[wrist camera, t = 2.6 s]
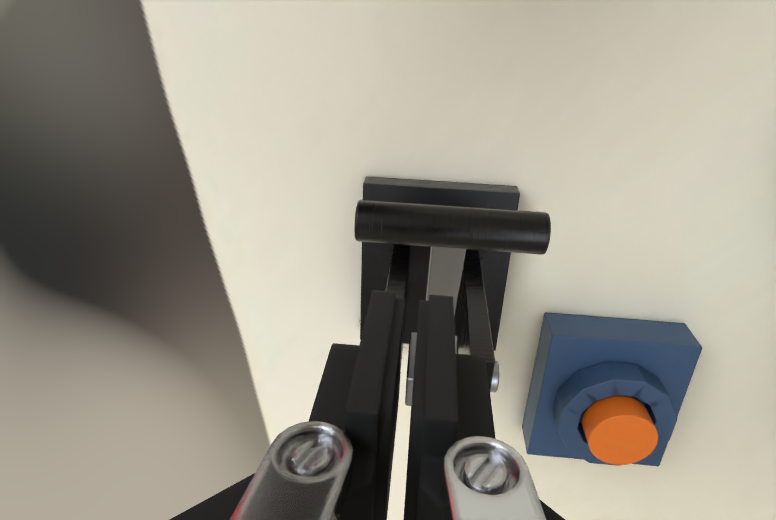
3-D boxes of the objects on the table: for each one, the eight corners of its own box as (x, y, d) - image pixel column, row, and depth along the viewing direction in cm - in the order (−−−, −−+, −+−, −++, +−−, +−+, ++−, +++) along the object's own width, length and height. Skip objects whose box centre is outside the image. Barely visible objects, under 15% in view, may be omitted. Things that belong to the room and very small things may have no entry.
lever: (360, 179, 18) (351, 235, 16) (547, 191, 17) (554, 250, 16) (370, 357, 27) (364, 402, 26) (491, 367, 27) (492, 413, 25)
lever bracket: (365, 176, 33) (326, 278, 21) (517, 185, 32) (559, 295, 21) (362, 329, 38) (329, 477, 26) (493, 339, 37) (517, 496, 26)
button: (588, 392, 34) (596, 412, 32) (655, 398, 33) (666, 418, 32) (576, 440, 35) (582, 462, 34) (639, 446, 35) (648, 468, 34)
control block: (544, 312, 36) (557, 353, 32) (685, 322, 35) (716, 366, 31) (521, 426, 40) (530, 475, 36) (646, 437, 40) (669, 488, 36)
